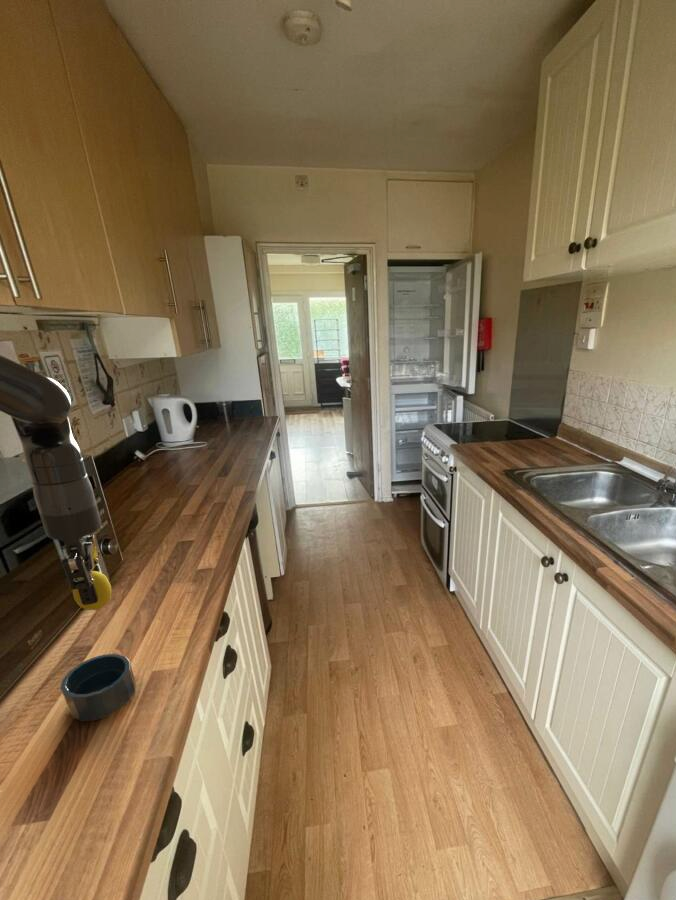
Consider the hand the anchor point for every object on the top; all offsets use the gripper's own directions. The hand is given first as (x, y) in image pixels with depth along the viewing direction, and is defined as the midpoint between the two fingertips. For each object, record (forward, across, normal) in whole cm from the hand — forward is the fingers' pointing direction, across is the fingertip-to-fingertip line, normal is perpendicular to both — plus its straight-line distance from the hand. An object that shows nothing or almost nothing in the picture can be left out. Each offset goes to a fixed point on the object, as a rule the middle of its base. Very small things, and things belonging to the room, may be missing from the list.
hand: (93, 592), depth 75 cm
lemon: (+4, 0, 0) cm, 4 cm away
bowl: (+14, -11, 0) cm, 18 cm away
